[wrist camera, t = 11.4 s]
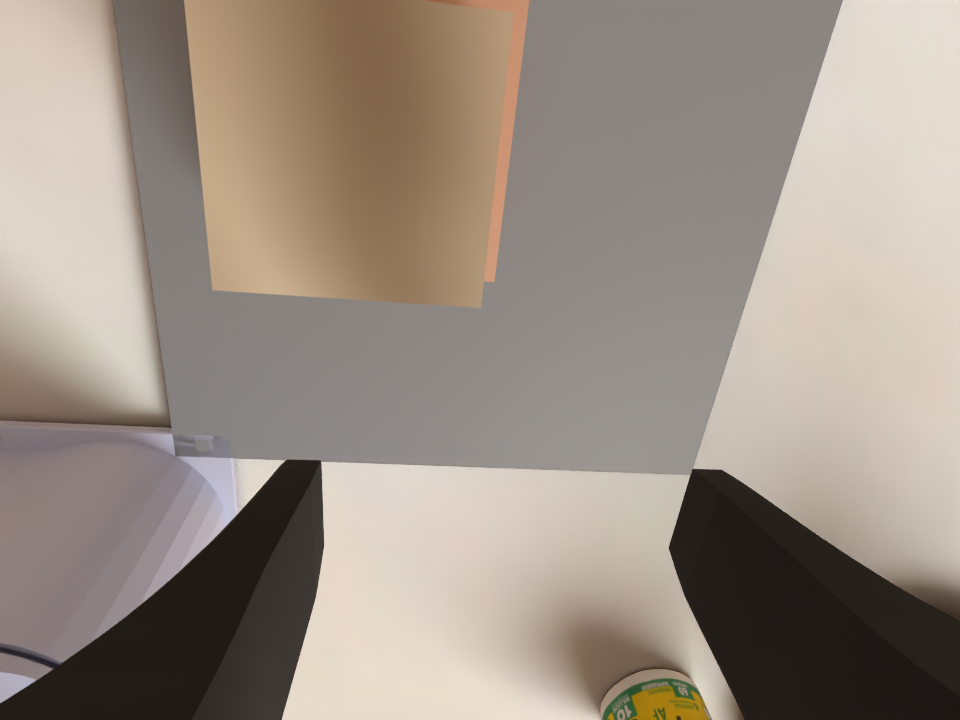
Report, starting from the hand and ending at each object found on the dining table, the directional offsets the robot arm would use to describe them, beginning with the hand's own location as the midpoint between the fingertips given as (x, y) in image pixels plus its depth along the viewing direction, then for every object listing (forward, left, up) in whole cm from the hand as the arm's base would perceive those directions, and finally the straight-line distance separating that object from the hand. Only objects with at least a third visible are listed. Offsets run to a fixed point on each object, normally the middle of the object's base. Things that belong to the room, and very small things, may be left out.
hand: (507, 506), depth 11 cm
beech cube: (-3, +6, -7) cm, 10 cm away
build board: (0, +3, -10) cm, 11 cm away
